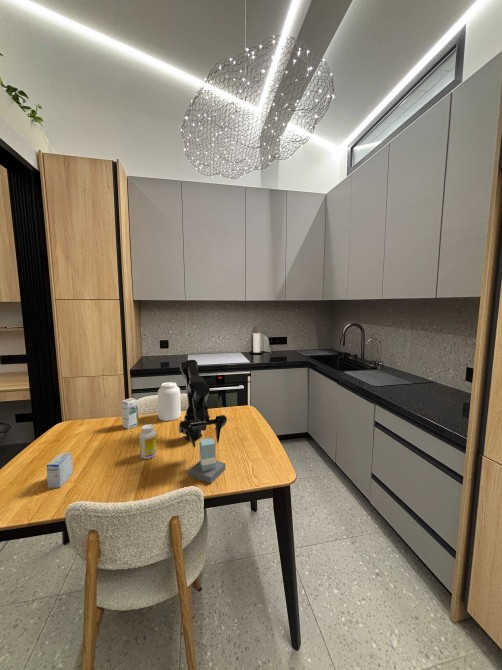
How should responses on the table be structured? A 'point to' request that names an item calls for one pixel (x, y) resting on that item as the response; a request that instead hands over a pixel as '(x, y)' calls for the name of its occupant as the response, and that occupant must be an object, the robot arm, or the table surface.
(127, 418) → the syrup box
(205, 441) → the carton
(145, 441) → the supplement bottle
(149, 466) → the table surface
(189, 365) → the robot arm
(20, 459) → the table surface
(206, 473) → the podium
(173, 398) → the white plastic jar
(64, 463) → the medicine box
